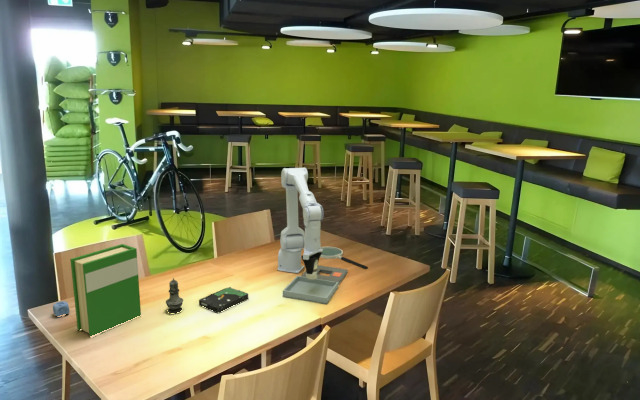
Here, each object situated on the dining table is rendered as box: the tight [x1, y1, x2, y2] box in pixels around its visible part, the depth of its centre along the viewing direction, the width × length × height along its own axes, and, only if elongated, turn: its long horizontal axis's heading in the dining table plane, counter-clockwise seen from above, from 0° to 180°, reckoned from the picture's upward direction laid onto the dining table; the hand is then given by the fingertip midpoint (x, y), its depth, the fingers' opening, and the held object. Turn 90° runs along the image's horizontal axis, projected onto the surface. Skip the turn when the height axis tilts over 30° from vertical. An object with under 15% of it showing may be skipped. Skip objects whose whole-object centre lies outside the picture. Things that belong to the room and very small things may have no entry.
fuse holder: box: [300, 264, 349, 286], centre depth 196 cm, size 16×14×2 cm
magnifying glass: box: [319, 246, 369, 270], centre depth 216 cm, size 13×31×2 cm, turn 42°
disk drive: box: [198, 286, 249, 313], centre depth 171 cm, size 10×3×15 cm
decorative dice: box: [52, 300, 70, 316], centre depth 158 cm, size 4×4×4 cm
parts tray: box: [282, 275, 339, 305], centre depth 180 cm, size 17×15×2 cm
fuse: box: [306, 259, 319, 280], centre depth 178 cm, size 4×4×7 cm
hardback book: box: [70, 243, 142, 337], centre depth 151 cm, size 18×7×24 cm, turn 146°
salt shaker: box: [165, 277, 184, 314], centre depth 162 cm, size 6×6×12 cm
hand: (311, 271), depth 179 cm, fingers closed on fuse, 4 cm apart
